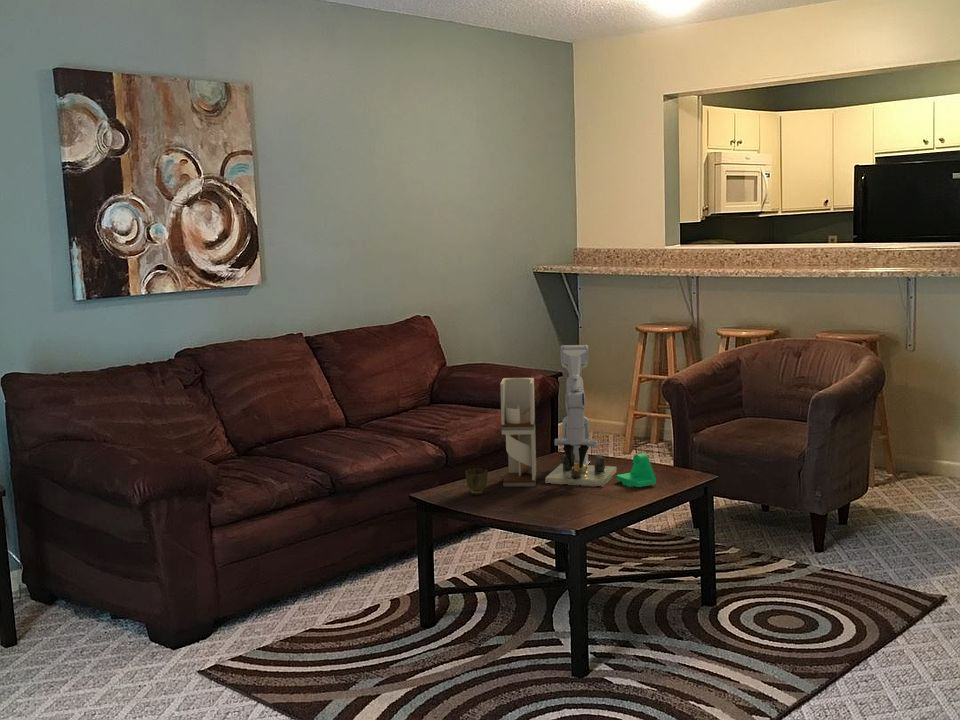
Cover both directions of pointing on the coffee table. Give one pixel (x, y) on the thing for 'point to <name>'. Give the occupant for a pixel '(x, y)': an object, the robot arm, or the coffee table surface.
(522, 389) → the white dispenser tower
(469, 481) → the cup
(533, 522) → the coffee table surface
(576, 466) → the tan-ended square prism
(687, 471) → the coffee table surface
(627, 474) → the camera mount
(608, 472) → the base
